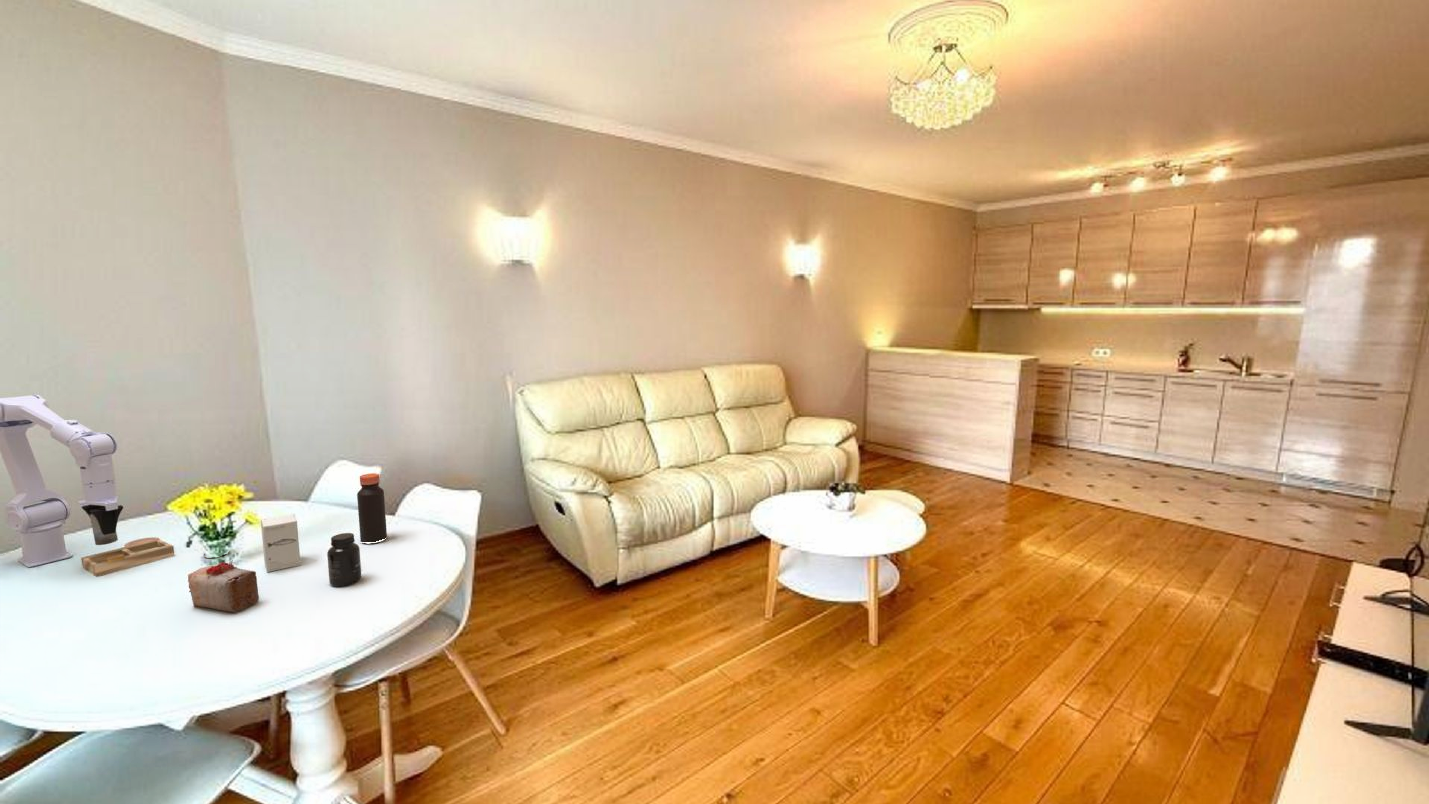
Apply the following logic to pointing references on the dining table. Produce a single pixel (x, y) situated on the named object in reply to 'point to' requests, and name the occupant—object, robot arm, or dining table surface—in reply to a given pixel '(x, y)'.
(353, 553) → the supplement bottle
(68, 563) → the dining table surface
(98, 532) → the cell
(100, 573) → the board
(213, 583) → the food item
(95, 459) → the robot arm
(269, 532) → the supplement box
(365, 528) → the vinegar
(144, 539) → the dish
